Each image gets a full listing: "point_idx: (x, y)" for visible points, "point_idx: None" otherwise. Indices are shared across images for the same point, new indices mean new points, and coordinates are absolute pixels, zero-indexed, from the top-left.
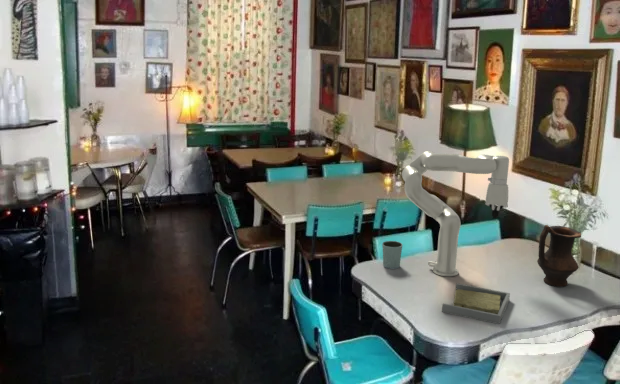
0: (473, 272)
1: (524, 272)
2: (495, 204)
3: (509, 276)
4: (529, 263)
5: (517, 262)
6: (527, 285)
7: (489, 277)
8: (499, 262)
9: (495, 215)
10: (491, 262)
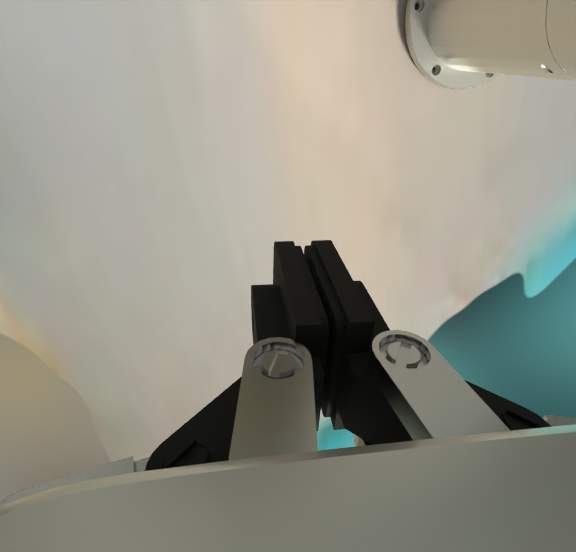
0: (328, 90)
1: (101, 222)
2: (438, 444)
3: (146, 125)
4: (122, 335)
5: (169, 323)
6: (6, 17)
7: (237, 50)
8: (237, 287)
9: (302, 268)
10: (268, 271)
